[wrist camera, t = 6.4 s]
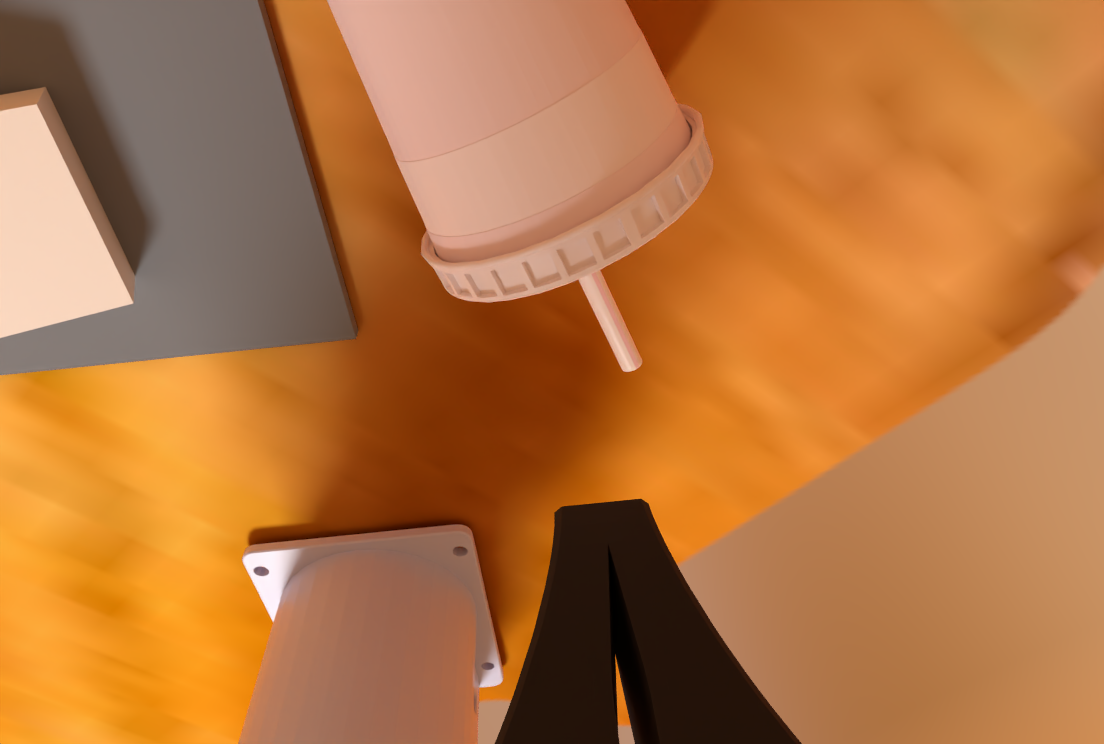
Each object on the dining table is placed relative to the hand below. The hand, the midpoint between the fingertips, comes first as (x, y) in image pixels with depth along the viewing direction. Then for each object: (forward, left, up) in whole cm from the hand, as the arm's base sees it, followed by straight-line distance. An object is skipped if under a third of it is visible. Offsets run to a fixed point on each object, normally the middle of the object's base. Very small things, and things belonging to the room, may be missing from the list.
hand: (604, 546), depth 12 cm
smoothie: (+12, +3, -8) cm, 14 cm away
